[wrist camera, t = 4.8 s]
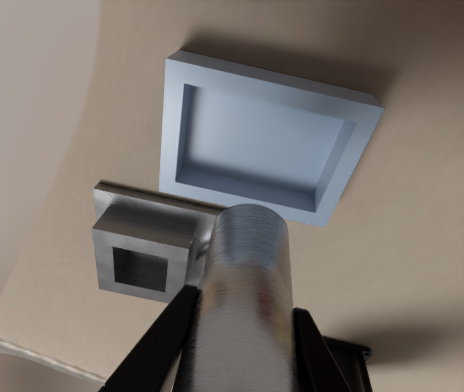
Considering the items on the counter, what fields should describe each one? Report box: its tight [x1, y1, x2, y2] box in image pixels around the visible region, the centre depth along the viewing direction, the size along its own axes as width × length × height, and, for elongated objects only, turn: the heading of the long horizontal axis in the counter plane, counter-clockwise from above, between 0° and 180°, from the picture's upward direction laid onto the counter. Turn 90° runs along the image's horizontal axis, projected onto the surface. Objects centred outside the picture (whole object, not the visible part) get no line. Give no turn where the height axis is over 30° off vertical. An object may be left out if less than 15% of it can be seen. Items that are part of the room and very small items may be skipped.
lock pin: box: [172, 203, 299, 392], centre depth 8 cm, size 4×4×9 cm
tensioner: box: [92, 183, 224, 304], centre depth 25 cm, size 14×10×3 cm
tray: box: [159, 50, 385, 228], centre depth 18 cm, size 11×8×2 cm
